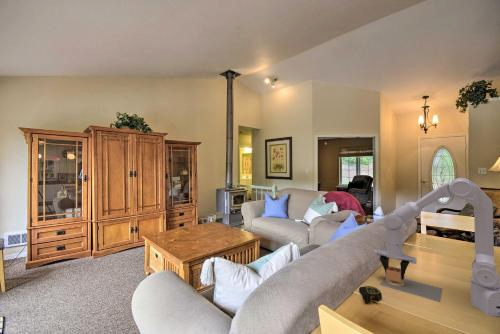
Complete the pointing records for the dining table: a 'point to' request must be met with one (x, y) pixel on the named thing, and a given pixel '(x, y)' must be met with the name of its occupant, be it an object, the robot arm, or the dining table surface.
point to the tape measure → (370, 294)
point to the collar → (393, 274)
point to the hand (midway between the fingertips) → (394, 276)
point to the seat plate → (415, 288)
